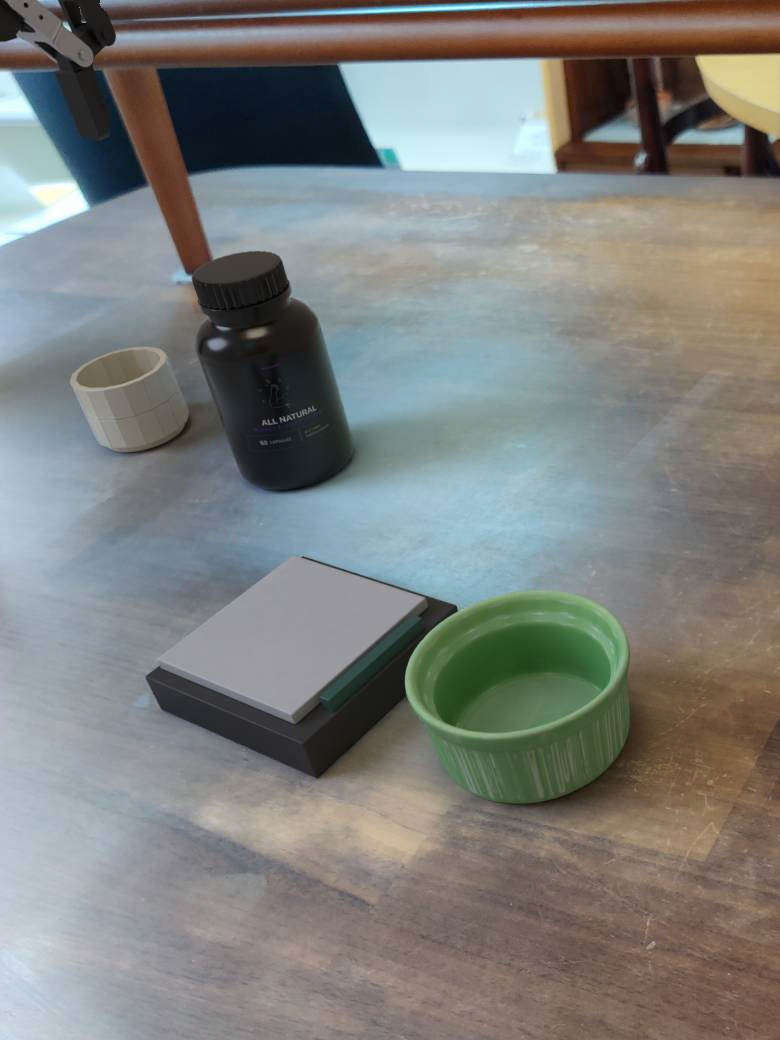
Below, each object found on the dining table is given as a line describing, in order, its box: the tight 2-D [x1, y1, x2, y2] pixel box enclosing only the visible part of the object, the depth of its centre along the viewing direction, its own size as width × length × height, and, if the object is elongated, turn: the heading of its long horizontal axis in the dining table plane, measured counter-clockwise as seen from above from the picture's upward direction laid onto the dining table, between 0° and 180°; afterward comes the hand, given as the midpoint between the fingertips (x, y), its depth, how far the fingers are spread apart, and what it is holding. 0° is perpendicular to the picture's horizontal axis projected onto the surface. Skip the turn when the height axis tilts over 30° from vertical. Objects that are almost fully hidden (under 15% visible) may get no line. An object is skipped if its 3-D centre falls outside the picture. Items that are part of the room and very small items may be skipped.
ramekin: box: [405, 589, 631, 805], centre depth 49 cm, size 9×9×4 cm
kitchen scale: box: [144, 555, 459, 778], centre depth 54 cm, size 10×10×3 cm
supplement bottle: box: [191, 250, 354, 491], centre depth 67 cm, size 7×7×12 cm
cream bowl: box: [69, 346, 190, 453], centre depth 75 cm, size 6×6×4 cm
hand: (32, 161), depth 68 cm, fingers open, 8 cm apart
